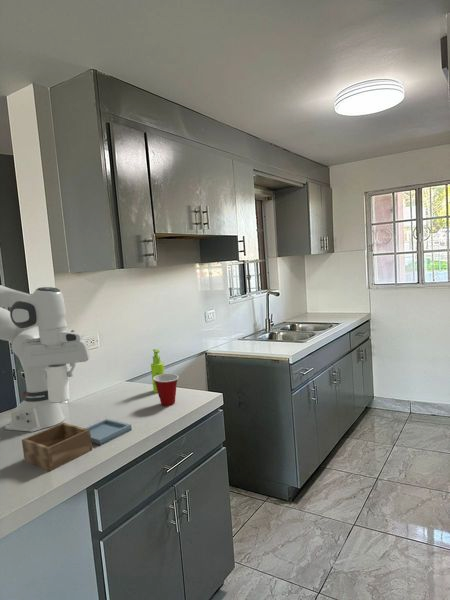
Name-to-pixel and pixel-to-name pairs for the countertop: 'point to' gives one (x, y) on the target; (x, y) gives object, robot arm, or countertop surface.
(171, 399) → the plastic cup
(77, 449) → the walnut sleeve
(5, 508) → the countertop surface
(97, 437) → the tray
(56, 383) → the can
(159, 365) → the soap dispenser
